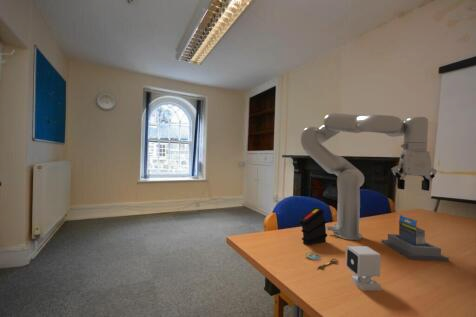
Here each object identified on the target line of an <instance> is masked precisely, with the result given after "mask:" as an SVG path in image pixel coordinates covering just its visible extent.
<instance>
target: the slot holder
mask: <svg viewBox="0 0 476 317" xmlns="http://www.w3.org/2000/svg"><path fill="white" fill-rule="evenodd" d="M381 243H382V244H384V245H385V246H387V247H389V248H391V249H392V250H393V251H395V252H396V253H398V254H400V255H402V256H403V257H405V258H406V259H409V260H416V261H417V260H418V261H434V262H449V261H450V258H449V257H447V256H446V255H443V254H442V248H441V247H439V246H436V245H434V244H432V243H430V242H427V241H425V246H414V245H412V244H410V243H408V242H406V241H404V240H402V239H400V238H399V233H398V234H397V233H387V239H381Z"/></svg>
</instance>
